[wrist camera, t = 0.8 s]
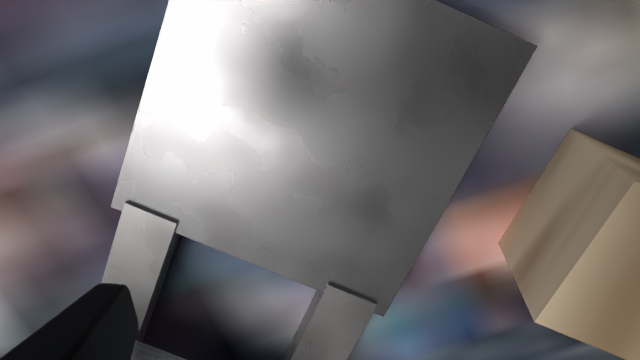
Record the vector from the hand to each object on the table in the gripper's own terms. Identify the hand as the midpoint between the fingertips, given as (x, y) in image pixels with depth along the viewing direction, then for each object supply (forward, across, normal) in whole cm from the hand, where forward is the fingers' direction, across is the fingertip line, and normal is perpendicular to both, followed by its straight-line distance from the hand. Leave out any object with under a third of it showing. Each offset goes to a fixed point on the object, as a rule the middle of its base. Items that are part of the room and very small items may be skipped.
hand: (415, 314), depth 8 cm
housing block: (+11, -8, +6) cm, 15 cm away
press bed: (+10, +5, +8) cm, 14 cm away
